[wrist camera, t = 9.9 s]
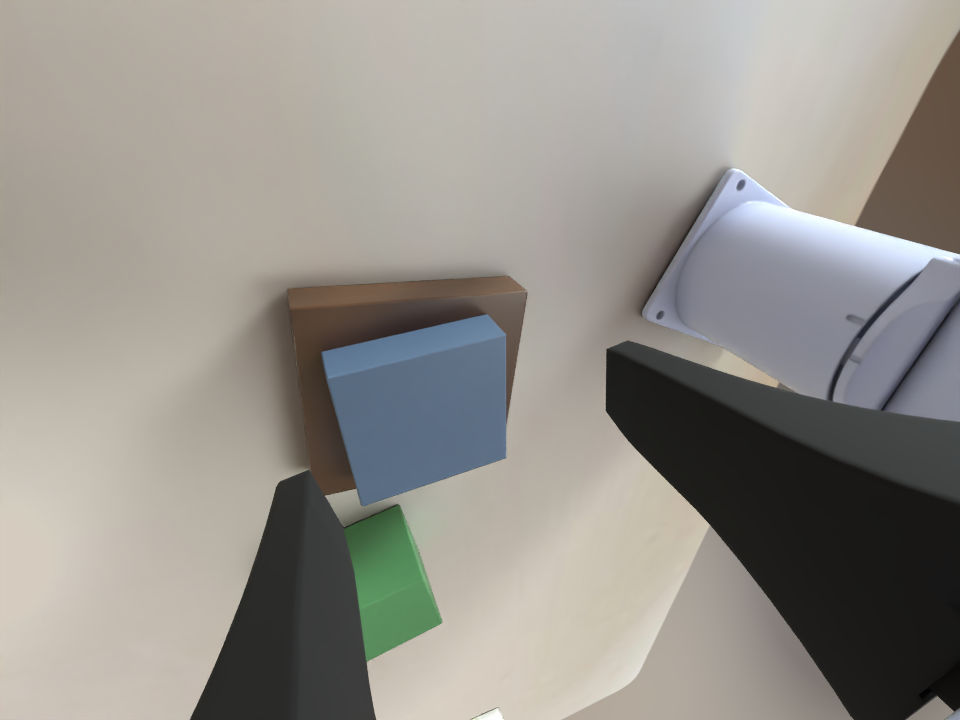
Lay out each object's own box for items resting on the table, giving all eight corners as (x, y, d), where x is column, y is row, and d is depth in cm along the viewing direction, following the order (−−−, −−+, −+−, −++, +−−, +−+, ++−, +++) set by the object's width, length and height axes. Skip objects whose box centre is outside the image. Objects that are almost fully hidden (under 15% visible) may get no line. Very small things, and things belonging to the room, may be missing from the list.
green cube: (399, 503, 24) (423, 578, 21) (418, 550, 27) (443, 623, 24) (314, 540, 23) (324, 626, 20) (343, 584, 26) (356, 667, 22)
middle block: (487, 313, 18) (506, 333, 17) (490, 433, 22) (506, 458, 20) (320, 351, 16) (326, 378, 15) (354, 476, 20) (361, 507, 18)
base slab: (509, 274, 20) (528, 291, 18) (487, 434, 24) (501, 456, 23) (286, 287, 16) (288, 308, 15) (310, 469, 21) (314, 498, 19)
